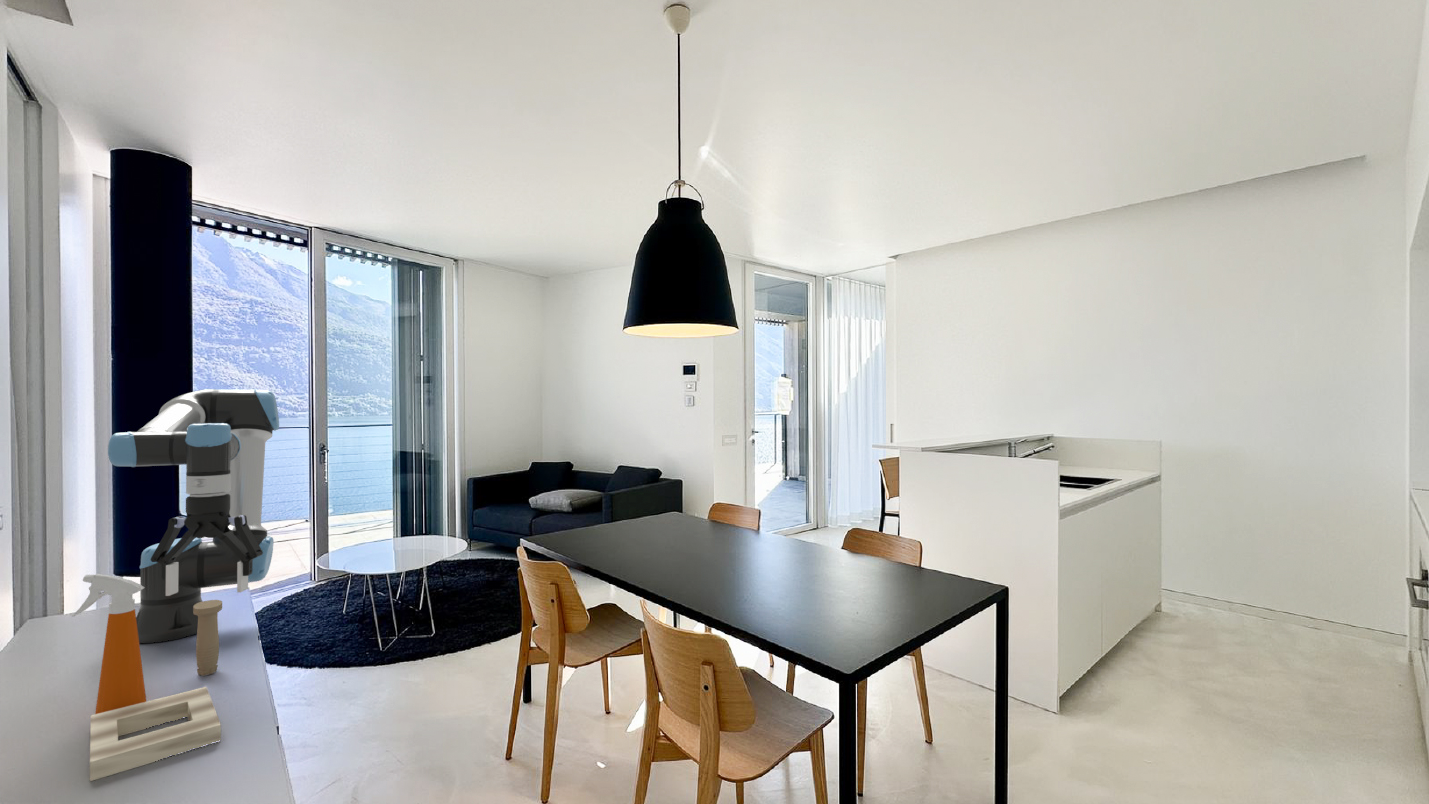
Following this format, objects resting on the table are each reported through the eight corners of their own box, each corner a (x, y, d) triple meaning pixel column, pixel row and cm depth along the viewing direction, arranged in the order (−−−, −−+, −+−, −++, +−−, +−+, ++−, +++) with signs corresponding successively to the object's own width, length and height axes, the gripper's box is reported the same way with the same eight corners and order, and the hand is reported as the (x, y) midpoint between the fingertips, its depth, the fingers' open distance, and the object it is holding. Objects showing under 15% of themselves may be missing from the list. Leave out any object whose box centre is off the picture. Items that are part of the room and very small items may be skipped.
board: (90, 732, 110) (90, 715, 110) (206, 701, 121) (206, 686, 121) (89, 781, 96) (89, 761, 96) (220, 741, 107) (220, 724, 107)
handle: (192, 681, 130) (193, 610, 130) (192, 671, 135) (193, 602, 135) (222, 675, 133) (222, 605, 133) (221, 665, 138) (221, 598, 138)
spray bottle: (83, 707, 119) (84, 570, 119) (153, 698, 123) (154, 565, 123) (59, 725, 112) (60, 580, 112) (135, 715, 116) (135, 575, 116)
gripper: (129, 498, 128) (128, 600, 128) (262, 495, 133) (262, 594, 132) (155, 493, 136) (154, 590, 135) (281, 490, 140) (280, 584, 140)
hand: (207, 592), depth 134 cm, fingers open, 13 cm apart
